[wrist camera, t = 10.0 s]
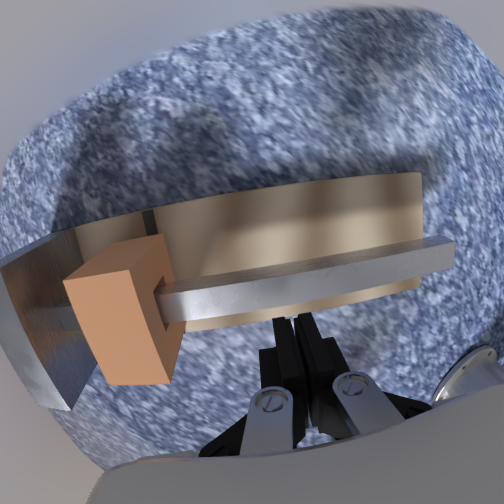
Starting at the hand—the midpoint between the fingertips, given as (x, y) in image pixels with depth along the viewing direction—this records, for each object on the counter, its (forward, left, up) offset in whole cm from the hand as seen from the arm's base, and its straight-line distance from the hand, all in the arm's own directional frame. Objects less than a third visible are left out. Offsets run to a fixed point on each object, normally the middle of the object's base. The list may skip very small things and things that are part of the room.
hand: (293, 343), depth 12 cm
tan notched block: (+9, -1, -8) cm, 12 cm away
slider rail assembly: (+3, -1, -10) cm, 11 cm away
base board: (+3, -1, -10) cm, 11 cm away
